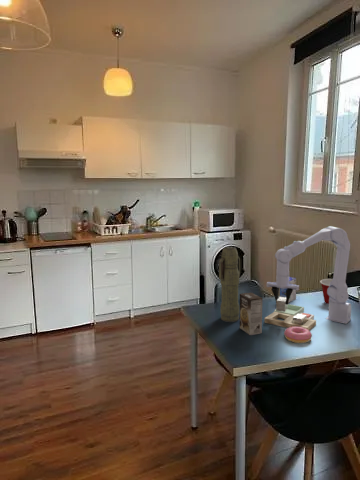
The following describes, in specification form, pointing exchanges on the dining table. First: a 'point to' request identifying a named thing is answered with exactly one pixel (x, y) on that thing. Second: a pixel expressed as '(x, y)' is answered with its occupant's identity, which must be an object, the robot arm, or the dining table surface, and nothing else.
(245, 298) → the coffee box
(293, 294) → the ink cartridge box
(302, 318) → the block
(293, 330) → the doughnut
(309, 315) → the button
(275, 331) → the dining table surface
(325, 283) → the plastic cup
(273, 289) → the robot arm
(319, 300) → the dining table surface
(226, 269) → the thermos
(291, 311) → the tote
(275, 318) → the tan open frame
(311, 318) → the button housing
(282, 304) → the billet
